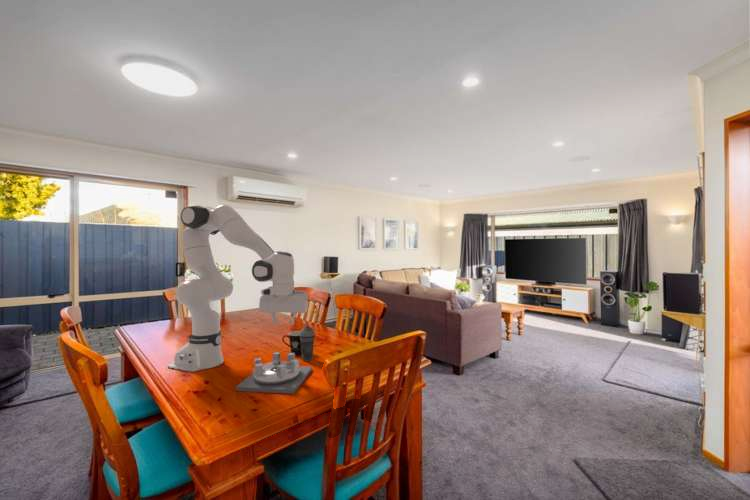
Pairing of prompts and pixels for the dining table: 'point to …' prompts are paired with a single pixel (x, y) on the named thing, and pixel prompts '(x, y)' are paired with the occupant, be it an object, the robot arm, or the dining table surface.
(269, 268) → the robot arm
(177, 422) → the dining table surface
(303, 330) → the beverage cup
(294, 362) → the grey round pegged disc
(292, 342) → the coffee mug
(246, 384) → the base plate
